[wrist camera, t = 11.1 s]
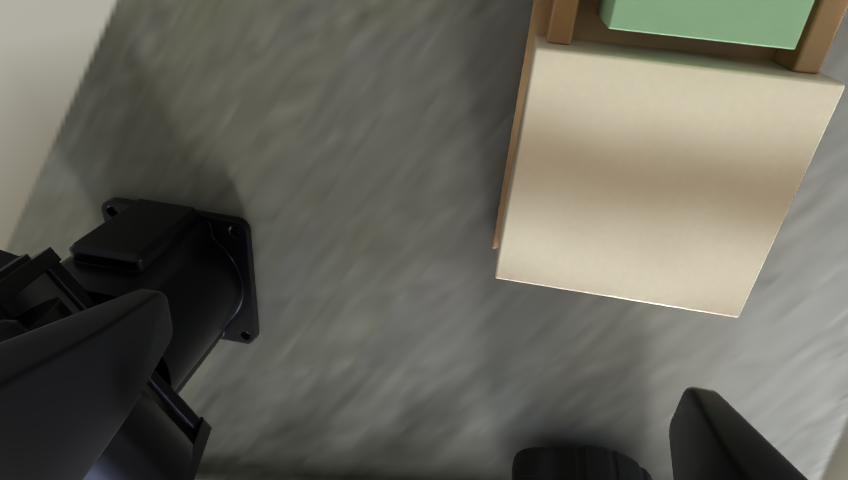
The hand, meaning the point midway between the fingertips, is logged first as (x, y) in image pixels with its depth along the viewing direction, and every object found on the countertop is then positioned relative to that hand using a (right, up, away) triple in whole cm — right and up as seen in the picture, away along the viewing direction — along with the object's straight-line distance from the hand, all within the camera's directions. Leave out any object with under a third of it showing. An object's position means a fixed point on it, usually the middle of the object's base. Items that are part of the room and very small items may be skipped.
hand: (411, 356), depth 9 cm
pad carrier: (+8, +8, +8) cm, 14 cm away
